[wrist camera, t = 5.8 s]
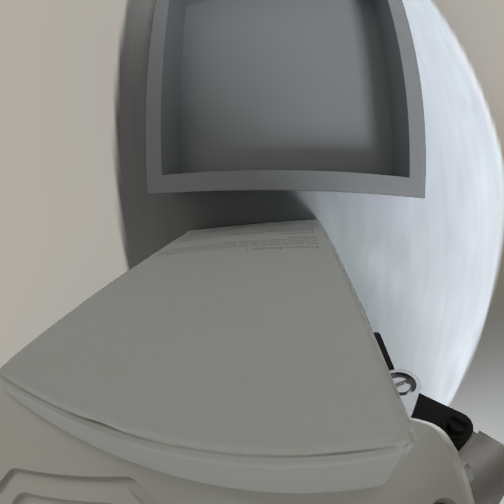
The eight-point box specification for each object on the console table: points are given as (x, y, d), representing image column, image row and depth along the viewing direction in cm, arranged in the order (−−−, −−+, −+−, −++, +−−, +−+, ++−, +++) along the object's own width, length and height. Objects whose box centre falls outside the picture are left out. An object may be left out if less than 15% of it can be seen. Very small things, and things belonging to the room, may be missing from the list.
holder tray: (400, 192, 13) (424, 198, 10) (174, 188, 14) (147, 194, 12) (380, 0, 9) (392, -25, 6) (179, 5, 11) (159, -17, 8)
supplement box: (208, 341, 17) (119, 516, 5) (187, 227, 15) (-18, 364, 3) (326, 339, 16) (337, 551, 4) (324, 216, 14) (435, 444, 2)
